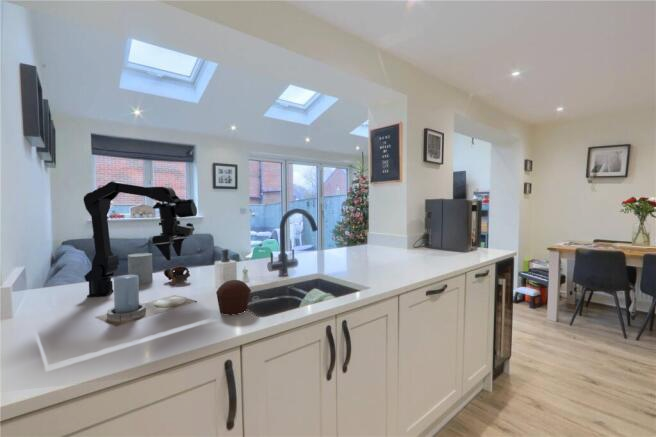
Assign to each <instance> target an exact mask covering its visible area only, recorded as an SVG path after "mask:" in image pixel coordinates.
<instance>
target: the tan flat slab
mask: <svg viewBox="0 0 656 437" xmlns="http://www.w3.org/2000/svg"><path fill="white" fill-rule="evenodd" d="M192 303H196V304H197V303H198V301H197V300H196V299H195V300H194V299H191V298H187V297H183V296H180V295H177V294H174V295H170V296H166V297H162V298H159V299H156V300H152V301H148V302H144V303H140V302H139V310H137V311H133V312H129V313H123V314H115V309H114V307H111V308H110V309H108V310H107V311H106V313H104V314H102V315H99V316H95V317H94V318H96V319H98V320H101V321H103V322H105V323H107V324H110V325H112V326H114V327H120V326H123V325H125V324H128V323H131V322H135V321H138V320H142V319H144V318H147V317H151V316H155V315H158V314H160V313H164V312H167V311H170V310H172V309H173V310H174V309H176V308H179V307H184V306H186V305H189V304H192Z"/></svg>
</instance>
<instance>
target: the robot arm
mask: <svg viewBox="0 0 656 437" xmlns="http://www.w3.org/2000/svg"><path fill="white" fill-rule="evenodd" d="M120 193H121V194H129V195H134V196H140V197H141V196H142V197H147V198H149V199H150V200H151V199H152V200H153V201H156V202H155V204H154V205H153V206H152V209H154V210H155V209H158V212H159V217H160V218H159V219H160V222H158V226H161V232H160V234H157V235H153V237H152V238H151V243H152V244H153V245H154V246H155V247H156V248H158V250H159V251H160V252H161V254H162V256H164V258H165V260H167V261H171V260H172V248H173V250H174V252H175V254H176V256H177V257H180V256H181V255H182V249H183V244H184V242H185V240H187V239H188V237H189V236H193V233H194V232H195V230H196V228H195V226H194V223H192V222H187V223H186V224H181V221H180V220H178V217H179V218H180V219H181V218H182V219H183V218H189V217H196V216H197V214H198V208H197V206H196V203H195V201H194V199H191V198H190V199H186V200H184V199H183V200H182V199H181V198H180V197H179V196H178V195H177V193H176V191H175V190H174V188H172V187H167V186H149V187H148V186H144V185H139V184H138V185H136V184H131V183H122V182H120V181H113V180H112V181H109V182H108V183H106V184H105V185H103V186H101V187H98V188H97V189H95V190H93V191H91V192H87V193H86V194H85V195H84V196H83V199H82V200H83V204H84V207H85V210H86V211H87V212H88V214H89V215H90V218H91V224H92V234H93V242H94V243H93V244H94V252H95V253H94V256H93V258H92V260H91V269H90V270H89V271H88V272H87V273H86V274H85V275H84V280H85V281H86V283H87V282H88V294H87V295H86V297H87V298H90V297H94V298H96V297H106V296H108V295H110V294H112V293H114V284H113V281H112V277H113V276H114V274H115V272H116V271H117V270H118V266H119V265H120V262H119V255H118V254H115V255H114V254H113V251H112V248H111V239H110V229H109V224H108V223H109V221H108V220H109V219H108V214H109V211H110V208H111V202H112V201H113V200H115V198H116V197H118V195H119V194H120ZM163 202H164V203H163ZM171 204H174V205H171Z"/></svg>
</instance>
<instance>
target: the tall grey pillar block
mask: <svg viewBox="0 0 656 437" xmlns="http://www.w3.org/2000/svg"><path fill="white" fill-rule="evenodd" d="M127 273H128V274H127V275H138V281H139V285H143V284H147V283H151V282H153V281H154V279H153V253H151V252H138V253H131V254H128V255H127Z"/></svg>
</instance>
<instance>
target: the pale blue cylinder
mask: <svg viewBox="0 0 656 437" xmlns="http://www.w3.org/2000/svg"><path fill="white" fill-rule="evenodd" d="M139 285H140V284H139V281H138V275H128V274H124V275H119V276H116V277H114V278H113V297H114V298H113V299H114V301H113V302H114V309H115V314H123V313H129V312H133V311H137V310H139V303H140V290H139Z"/></svg>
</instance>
